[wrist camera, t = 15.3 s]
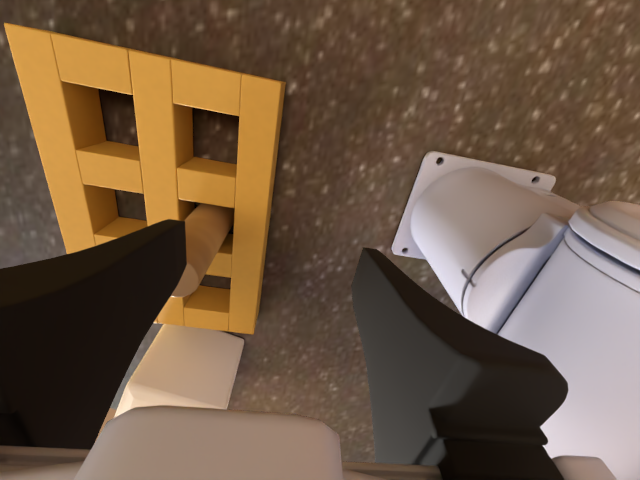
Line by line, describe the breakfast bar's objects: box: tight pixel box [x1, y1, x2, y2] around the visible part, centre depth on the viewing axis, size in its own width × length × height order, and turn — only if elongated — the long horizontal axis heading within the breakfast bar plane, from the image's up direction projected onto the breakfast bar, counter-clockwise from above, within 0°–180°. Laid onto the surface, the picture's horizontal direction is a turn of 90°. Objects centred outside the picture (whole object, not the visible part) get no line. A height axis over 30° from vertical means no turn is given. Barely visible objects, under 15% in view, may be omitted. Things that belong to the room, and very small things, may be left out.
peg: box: [171, 203, 235, 297], centre depth 17 cm, size 3×3×8 cm
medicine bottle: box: [114, 324, 244, 418], centre depth 23 cm, size 7×7×12 cm
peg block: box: [4, 23, 286, 334], centre depth 19 cm, size 13×18×3 cm
